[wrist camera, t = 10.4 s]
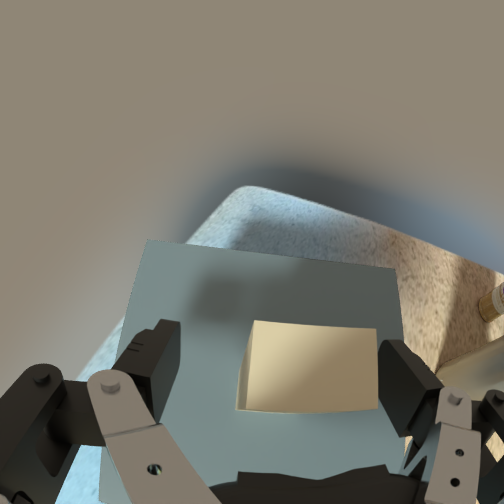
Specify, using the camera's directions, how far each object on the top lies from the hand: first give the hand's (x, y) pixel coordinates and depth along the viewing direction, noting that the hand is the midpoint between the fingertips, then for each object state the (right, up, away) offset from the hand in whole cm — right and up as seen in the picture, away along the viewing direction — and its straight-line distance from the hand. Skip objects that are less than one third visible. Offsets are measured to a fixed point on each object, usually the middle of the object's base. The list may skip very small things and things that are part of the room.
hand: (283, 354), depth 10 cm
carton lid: (-1, -7, +9) cm, 11 cm away
